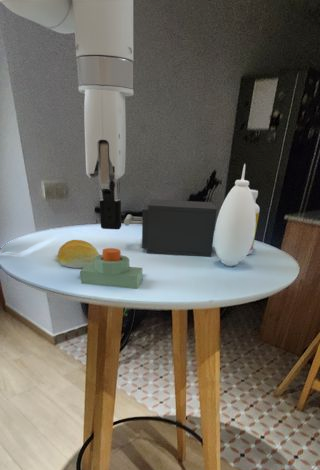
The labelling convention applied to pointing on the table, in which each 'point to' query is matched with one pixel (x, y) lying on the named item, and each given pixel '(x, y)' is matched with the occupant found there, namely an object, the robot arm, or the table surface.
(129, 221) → the drawer
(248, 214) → the sauce bottle
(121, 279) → the box
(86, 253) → the bread roll
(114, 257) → the button
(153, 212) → the box
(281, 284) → the table surface
